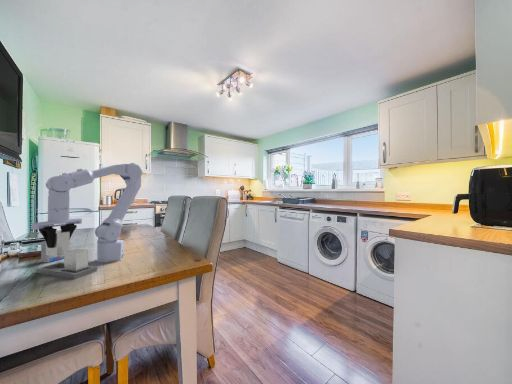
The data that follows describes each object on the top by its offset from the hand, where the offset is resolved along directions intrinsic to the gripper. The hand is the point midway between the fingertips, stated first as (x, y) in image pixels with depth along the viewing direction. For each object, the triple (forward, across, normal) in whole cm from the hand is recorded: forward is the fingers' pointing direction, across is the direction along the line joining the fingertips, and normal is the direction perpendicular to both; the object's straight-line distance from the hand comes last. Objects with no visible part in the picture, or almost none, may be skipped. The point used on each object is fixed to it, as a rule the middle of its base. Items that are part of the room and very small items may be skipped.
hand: (58, 246), depth 76 cm
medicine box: (+10, -10, -19) cm, 24 cm away
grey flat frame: (+10, 0, +4) cm, 11 cm away
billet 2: (+9, 0, +9) cm, 13 cm away
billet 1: (+3, 0, 0) cm, 3 cm away
